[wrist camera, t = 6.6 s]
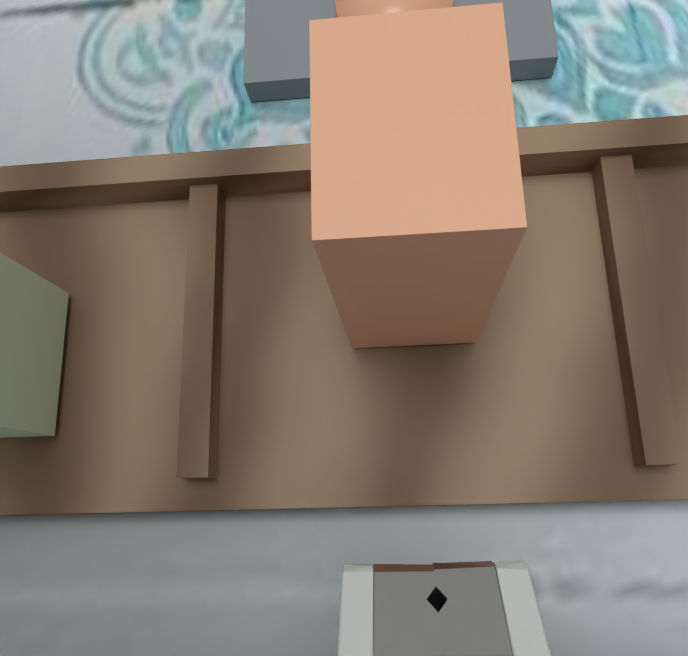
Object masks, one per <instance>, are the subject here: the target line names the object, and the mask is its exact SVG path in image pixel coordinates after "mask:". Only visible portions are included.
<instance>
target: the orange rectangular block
mask: <svg viewBox="0 0 688 656" xmlns="http://www.w3.org/2000/svg"><path fill="white" fill-rule="evenodd" d="M309 35H310V127H311V220H312V242H313V245H314V248H315V251H316V253H317V256H318V259H319V261H320V264H321V267H322V269H323V272H324V275H325V277H326V280H327V283H328V285H329V288H330V291H331V293H332V296H333V299H334V301H335V304H336V307H337V310H338V312H339V315H340V318H341V320H342V323H343V326H344V328H345V331H346V334H347V336H348V339H349V342H350V344H351V347H352V348H368V347H390V346H412V345H434V344H455V343H475V341H476V339H477V337H478V335H479V333H480V330H481V328H482V326H483V324H484V322H485V319H486V317H487V315H488V313H489V310H490V308H491V306H492V304H493V302H494V299H495V297H496V295H497V293H498V291H499V288H500V286H501V284H502V282H503V280H504V277H505V275H506V273H507V271H508V269H509V266H510V264H511V262H512V260H513V257H514V255H515V253H516V251H517V249H518V246H519V244H520V242H521V240H522V238H523V235H524V233H525V231H526V229H527V221H526V212H525V203H524V194H523V184H522V175H521V166H520V157H519V148H518V139H517V130H516V121H515V112H514V103H513V93H512V84H511V75H510V66H509V57H508V48H507V39H506V30H505V21H504V12H503V3H502V2H501V3H490V4H479V5H469V6H458V7H447V8H436V9H425V10H415V11H404V12H393V13H382V14H371V15H361V16H350V17H339V18H328V19H317V20H309Z"/></svg>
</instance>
